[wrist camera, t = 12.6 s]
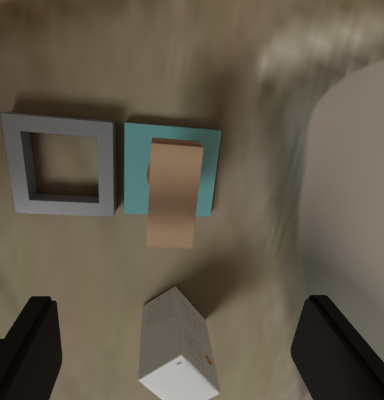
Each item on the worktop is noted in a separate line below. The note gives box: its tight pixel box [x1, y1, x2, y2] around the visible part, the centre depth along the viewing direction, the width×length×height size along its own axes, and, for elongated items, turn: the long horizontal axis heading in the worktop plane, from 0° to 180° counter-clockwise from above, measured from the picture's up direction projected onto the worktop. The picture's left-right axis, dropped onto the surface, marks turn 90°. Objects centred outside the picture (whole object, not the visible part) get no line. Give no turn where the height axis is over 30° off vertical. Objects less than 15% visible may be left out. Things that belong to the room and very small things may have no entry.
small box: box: [138, 286, 220, 400], centre depth 33 cm, size 8×6×10 cm
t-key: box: [147, 137, 204, 249], centre depth 26 cm, size 9×5×8 cm, turn 174°
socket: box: [0, 112, 116, 217], centre depth 28 cm, size 10×10×2 cm
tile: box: [124, 122, 221, 217], centre depth 30 cm, size 10×10×1 cm
